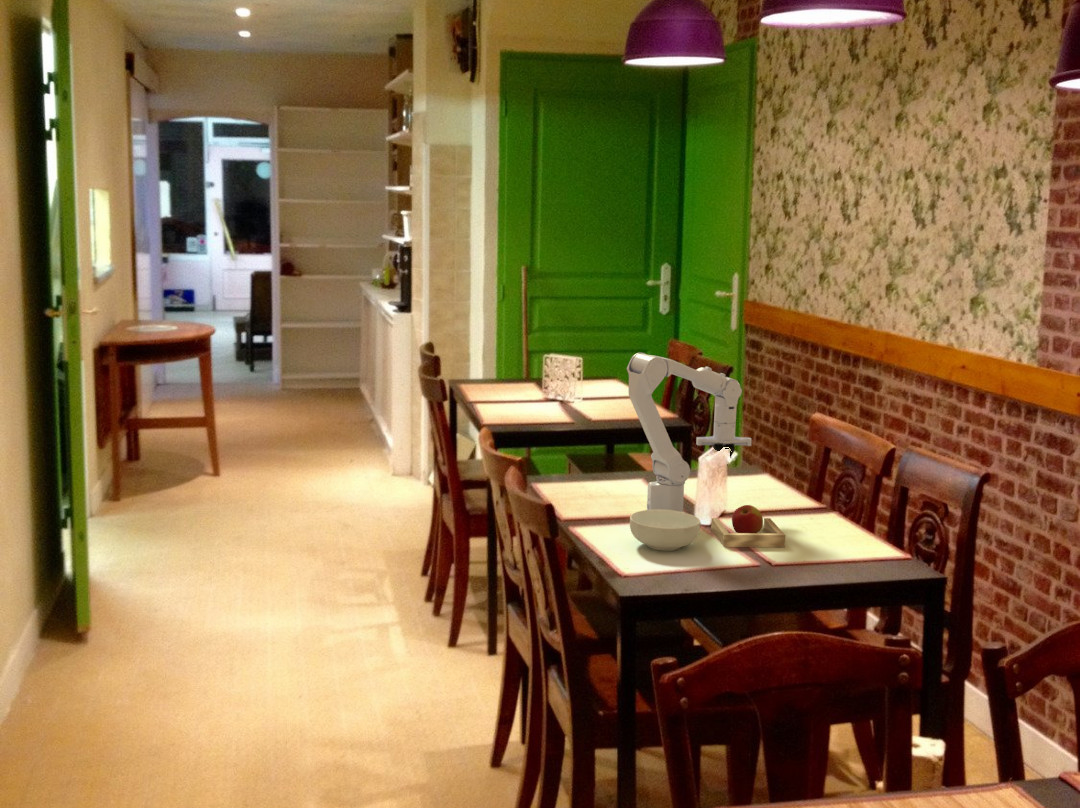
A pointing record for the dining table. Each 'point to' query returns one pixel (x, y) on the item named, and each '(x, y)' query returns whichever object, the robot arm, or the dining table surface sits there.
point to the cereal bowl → (664, 528)
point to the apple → (747, 519)
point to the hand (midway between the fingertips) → (722, 471)
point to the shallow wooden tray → (749, 536)
